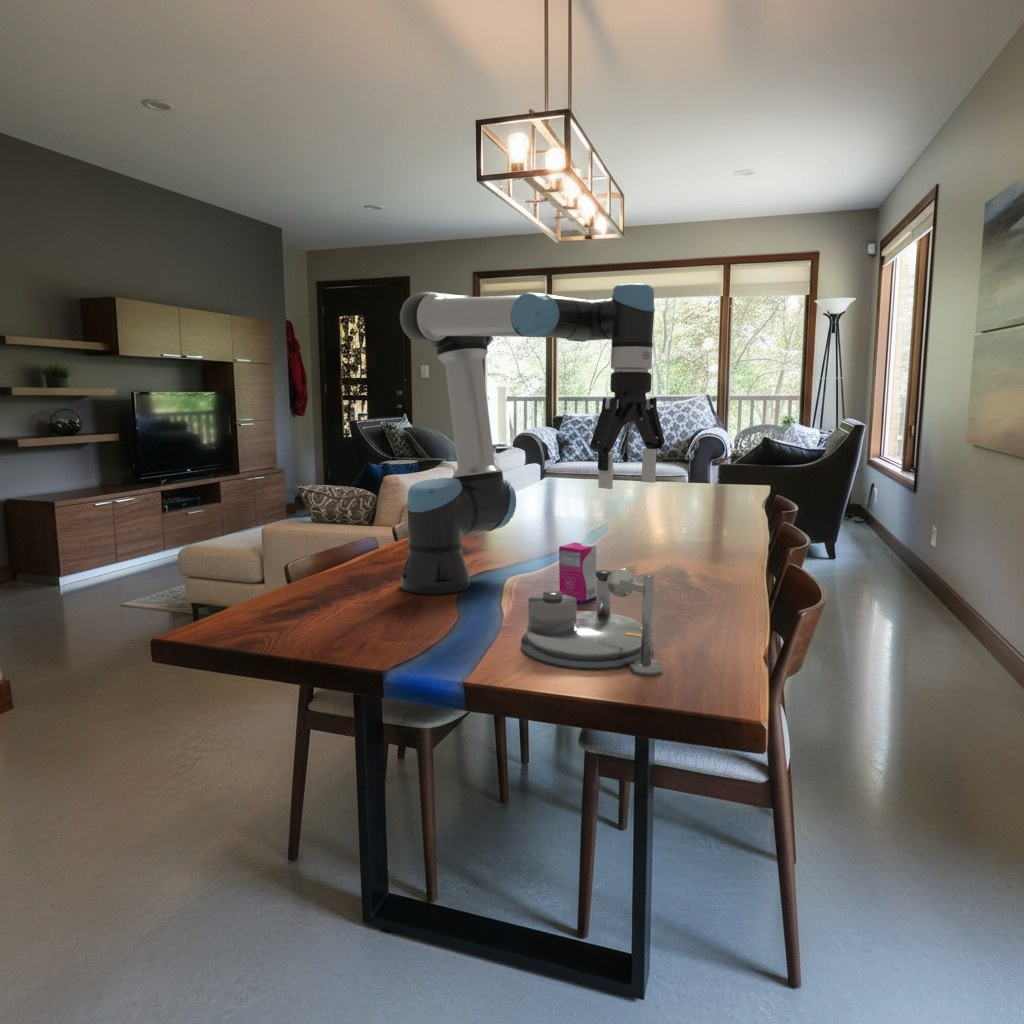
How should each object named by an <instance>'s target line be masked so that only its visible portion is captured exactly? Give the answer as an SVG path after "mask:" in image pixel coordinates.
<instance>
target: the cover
mask: <svg viewBox="0 0 1024 1024" xmlns="http://www.w3.org/2000/svg"><path fill="white" fill-rule="evenodd" d="M577 607H578V604H577V600H576V599H575V598H574V597H571V596H568V595H562V592H560V590H545V591H543V592H542V594H541V593H540V594H535V595H532V596H530V597H529V598H528V624H529V625H528V624H527V626H528V629H529V631H530V632H532V633H534V634H537V635H541V636H549V637H558V636H566V635H570V634H573V633H574V632H575V631H576V617H577V611H578V610H577Z"/></svg>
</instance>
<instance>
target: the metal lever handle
mask: <svg viewBox="0 0 1024 1024" xmlns="http://www.w3.org/2000/svg"><path fill="white" fill-rule="evenodd" d="M611 571H612V570H611ZM654 583H655V575H653V574H643V575H642V583H640V582H637V578H636V576H635V574H634V573H633V572H632V571H631V570H630V569H628V568H626V567H618V568H616V569H614V570H613V571H612V572H611V573H610V574H609V576H608V578H607V586H608V588H609V590H610V592H611V595H614V596H616V597H619V598H623V597H627V596H629V595H631V594H632V593H633V592H635V591H636V592H639V593H642V608H641V610H642V611H641V624H642V635H641V658H638V659H634V660H631V661H630V664H629V667H628V669H629V671H630V672H631V673H632V674H633V675H637V676H643V677H654V676H659V675H660V674H662V672H663V663H662V662H661V661H659V660H656V659H654V658H652V655H651V653H652V654H653V652H652V644H653V620H654V619H653V617H654V616H653V615H654V591H655V590H654V589H655V588H654V587H655V585H654Z"/></svg>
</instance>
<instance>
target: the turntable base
mask: <svg viewBox="0 0 1024 1024" xmlns="http://www.w3.org/2000/svg"><path fill="white" fill-rule="evenodd" d="M520 641H521V643H520V645H521V646H520V647H521V648H520V649H521V651H522V652H523V653H524V655H526V656H527V657H528V658H530V659H531V660H534V661H536V662H538V663H539V664H544V665H545V666H546V665H547V666H551V667H553V668H554V667H555V668H559V669H565V670H571V671H573V670H574V671H584V672H585V671H586V672H588V671H592V672H594V671H595V672H596V671H597V672H599V671H600V672H601V671H613V670H614V671H615V670H621V669H625V668H629V664H630V661H631V660H634V659H638V658H641V651H640V652H638V653H636V654H634V655H631V656H628V657H623V658H618V659H611V660H575V659H567V658H561V657H556V656H552V655H549V654H546V653H543V652H540V651H538V650H536V649H534V648H533V647H532V646H531V645H530V644H529V643H528V641H527V632H525V633H524V634H523V636H522V637H521V640H520ZM653 646H654V643H652V653H651V656H652V654H653V652H654V651H653V649H654V647H653Z"/></svg>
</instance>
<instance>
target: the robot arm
mask: <svg viewBox="0 0 1024 1024" xmlns="http://www.w3.org/2000/svg"><path fill="white" fill-rule="evenodd" d="M654 290H655V289H654V288H653V287H652V286H651V285H649V284H645V283H623V284H618V285H615V286H614V287H613V289H612V295H611V297H610V298H601V299H584V298H576V297H567V296H561V295H560V296H559V295H554V294H546V293H545V292H538V291H537V292H536V291H535V292H534V291H533V292H525V293H522V294H521V295H520V294H519V295H517V294H515V295H497V296H496V295H495V296H494V295H493V296H488V295H487V296H471V295H470V296H469V295H466V294H462V295H461V294H460V295H459V294H451V293H442V292H436V291H420V292H416V293H415V294H412V295H410V296H409V297H408V298H407V299H406V300H405V301H404V302H403V304H402V307H401V309H400V312H399V321H400V322H399V323H400V326H401V328H402V331H403V333H405V335H406V336H407V337H408V338H409V339H410V340H411V341H412V342H414V343H416V344H418V345H421V346H427V347H436V356H437V357H436V358H437V360H439V361H440V362H442V363H443V365H444V367H445V375H446V383H447V390H448V399H449V407H450V415H451V416H450V417H451V423H452V430H453V431H452V432H453V440H454V448H455V456H456V463H457V469H456V471H455V472H454V474H453V475H452V477H439V478H430V479H425V480H421V481H418V482H416V483H414V484H412V485H411V486H410V487H409V489H408V491H407V503H406V509H407V534H408V535H407V542H408V554H407V557H406V560H405V563H404V566H403V569H402V572H401V573H402V574H401V577H400V588H401V589H402V590H404V591H406V592H409V593H412V594H413V593H414V594H419V595H444V594H445V595H446V594H453V593H454V594H455V593H459V592H462V591H464V590H466V589H468V588H469V587H470V586H471V577H470V576H471V575H470V572H469V569H468V566H467V563H466V561H465V557H464V554H463V552H462V551H463V550H462V547H463V546H462V544H463V543H462V541H463V540H462V538H463V537H462V536H465V535H471V534H476V533H477V534H478V533H482V532H492V531H494V530H498V529H501V528H503V527H505V526H506V525H508V524H509V523H510V521H511V519H512V518H513V517H514V514H515V512H516V507H517V493H516V491H515V488H514V487H513V486H512V485H511V483H510V481H508V480H506V479H505V478H504V474H503V470H502V469H501V468H500V467H499V466H498V465H496V463H495V455H494V447H493V438H492V437H493V436H492V431H491V430H492V429H491V423H490V422H491V421H490V414H489V404H488V398H487V388H486V380H485V373H484V365H483V361H484V358H485V357H486V356H487V355H488V352H489V351H488V346H490V344H491V343H492V342H493V340H494V337H511V338H512V337H517V338H518V337H522V338H523V337H526V338H552V339H553V338H555V339H564V340H567V341H570V342H582V343H583V342H589V341H601V340H611V350H610V353H611V354H610V369H612V370H613V372H611V374H610V386H609V389H610V392H611V393H614V397H603V399H602V404H601V410H600V411H601V412H600V414H599V416H598V420H597V422H596V426H595V428H594V432H593V434H592V438H591V441H590V444H589V448H590V450H592V451H593V452H594V453H597V470H598V485H597V486H598V488H599V489H604V490H605V489H608V490H613V484H614V482H613V481H614V480H613V479H614V455H615V454H614V452H611V450H612V449H613V447H614V445H615V443H616V441H617V439H618V437H619V435H620V433H621V432H622V429H623V428H624V426H625V425H627V424H628V423H633V424H634V425H635V427H636V429H637V432H638V434H639V436H640V438H641V440H642V441H643V442H642V443H643V444H644V446H645V448H642V457H641V458H642V459H641V482H644V483H650V484H651V483H652V484H656V470H657V468H656V467H657V462H658V461H657V458H658V457H657V455H658V449H659V450H661V449H662V448H663V445H664V444H665V443H666V442H665V438H664V433H663V430H662V429H663V428H662V424H661V421H660V416H659V413H658V409H657V408H658V405H657V404H658V403H657V397H652V396H649V397H648V396H647V394H649V393H650V392H652V379H653V377H652V376H653V375H652V373H651V372H649V370H651V369H652V367H653V334H654V333H653V332H654V323H655V322H654V321H655V320H654V319H655V312H656V308H655V291H654Z"/></svg>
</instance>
